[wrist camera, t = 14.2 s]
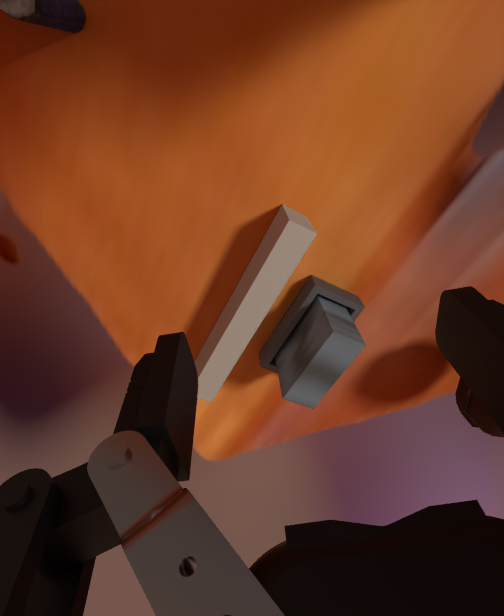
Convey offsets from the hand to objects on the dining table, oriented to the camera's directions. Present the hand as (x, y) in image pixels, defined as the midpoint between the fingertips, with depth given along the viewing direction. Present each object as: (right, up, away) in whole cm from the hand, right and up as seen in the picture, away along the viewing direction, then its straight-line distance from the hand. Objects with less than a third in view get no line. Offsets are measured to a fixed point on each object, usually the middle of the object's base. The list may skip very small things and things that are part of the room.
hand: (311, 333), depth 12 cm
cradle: (+5, -2, +34) cm, 35 cm away
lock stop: (+5, -2, +34) cm, 34 cm away
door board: (-3, +2, +32) cm, 32 cm away
